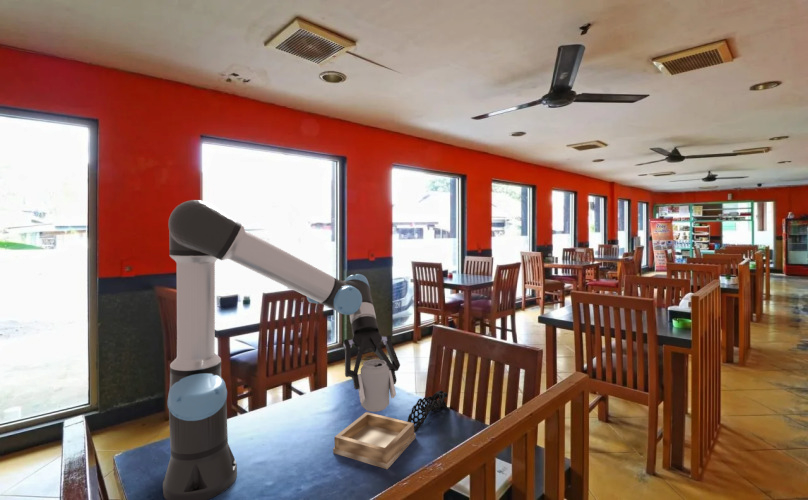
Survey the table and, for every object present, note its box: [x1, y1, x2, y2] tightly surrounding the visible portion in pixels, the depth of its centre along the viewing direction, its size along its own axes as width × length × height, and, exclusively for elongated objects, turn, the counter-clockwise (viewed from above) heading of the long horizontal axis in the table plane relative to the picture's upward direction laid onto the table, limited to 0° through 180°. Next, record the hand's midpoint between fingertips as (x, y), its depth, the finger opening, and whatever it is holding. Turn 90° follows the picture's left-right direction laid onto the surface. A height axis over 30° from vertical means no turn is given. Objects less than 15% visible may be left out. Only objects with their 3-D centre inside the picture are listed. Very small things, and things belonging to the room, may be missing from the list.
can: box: [360, 358, 390, 413], centre depth 107 cm, size 8×8×12 cm
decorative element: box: [406, 390, 448, 433], centre depth 124 cm, size 22×5×6 cm, turn 151°
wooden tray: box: [332, 411, 416, 470], centre depth 107 cm, size 16×16×4 cm
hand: (378, 398), depth 103 cm, fingers closed on can, 7 cm apart
